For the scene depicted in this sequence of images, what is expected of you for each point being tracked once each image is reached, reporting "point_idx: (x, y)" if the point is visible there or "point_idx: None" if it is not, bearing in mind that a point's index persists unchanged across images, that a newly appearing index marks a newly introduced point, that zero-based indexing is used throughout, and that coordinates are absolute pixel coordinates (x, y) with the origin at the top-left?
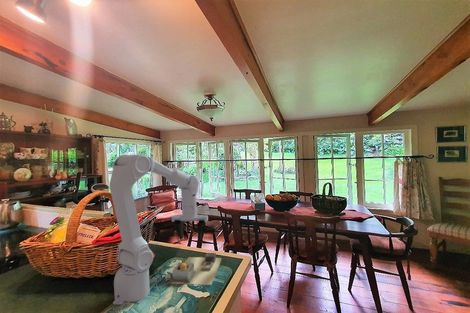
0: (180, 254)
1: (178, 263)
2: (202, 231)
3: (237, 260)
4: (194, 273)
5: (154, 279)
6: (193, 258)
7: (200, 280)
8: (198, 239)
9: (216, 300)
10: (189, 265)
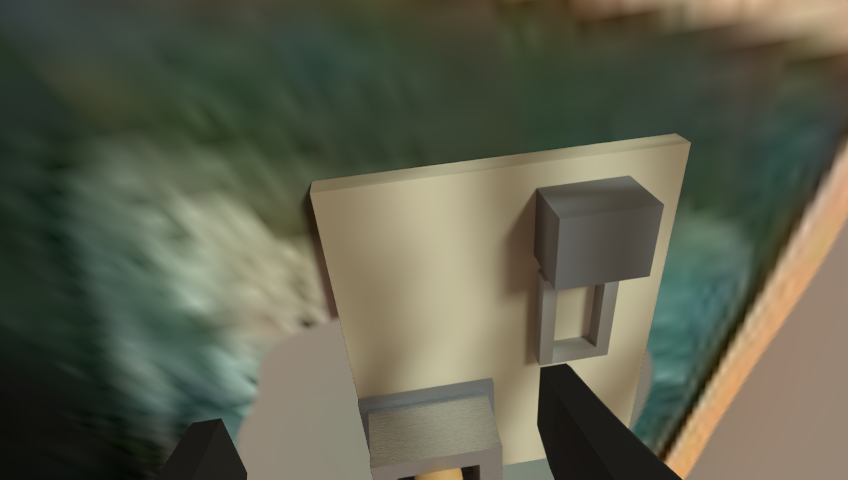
0: (118, 80)
1: (375, 477)
2: (647, 450)
3: (829, 105)
4: (492, 396)
5: None
6: (382, 209)
7: None
8: (541, 433)
9: None
10: (481, 474)
